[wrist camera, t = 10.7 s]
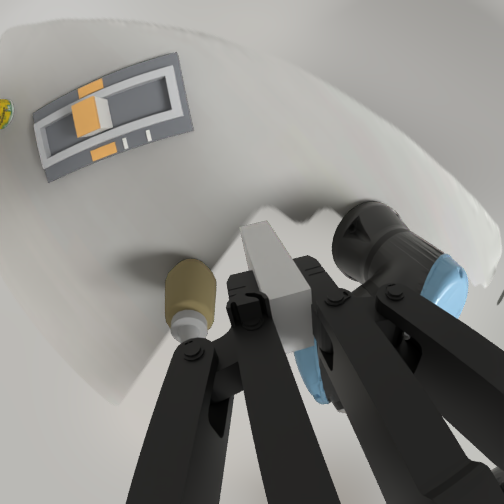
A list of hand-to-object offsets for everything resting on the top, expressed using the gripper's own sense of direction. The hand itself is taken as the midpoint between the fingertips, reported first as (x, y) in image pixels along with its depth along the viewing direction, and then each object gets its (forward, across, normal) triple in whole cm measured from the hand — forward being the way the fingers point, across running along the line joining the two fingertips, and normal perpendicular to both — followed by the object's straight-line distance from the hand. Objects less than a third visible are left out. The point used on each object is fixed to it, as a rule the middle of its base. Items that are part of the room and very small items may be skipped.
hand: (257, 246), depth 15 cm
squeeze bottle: (+27, +9, +15) cm, 32 cm away
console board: (+26, +15, -13) cm, 33 cm away
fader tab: (+24, +15, -13) cm, 31 cm away
